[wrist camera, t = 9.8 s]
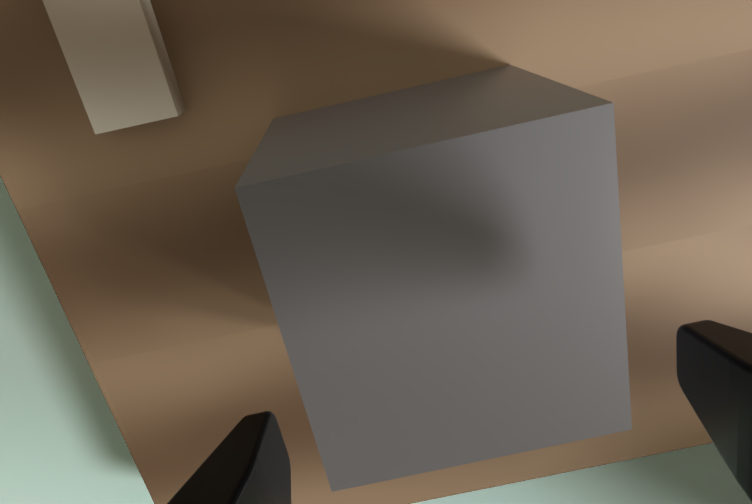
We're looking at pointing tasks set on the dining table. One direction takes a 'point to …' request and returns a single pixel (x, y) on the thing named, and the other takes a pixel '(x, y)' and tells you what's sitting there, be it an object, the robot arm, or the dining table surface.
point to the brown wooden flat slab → (326, 88)
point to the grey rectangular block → (446, 271)
